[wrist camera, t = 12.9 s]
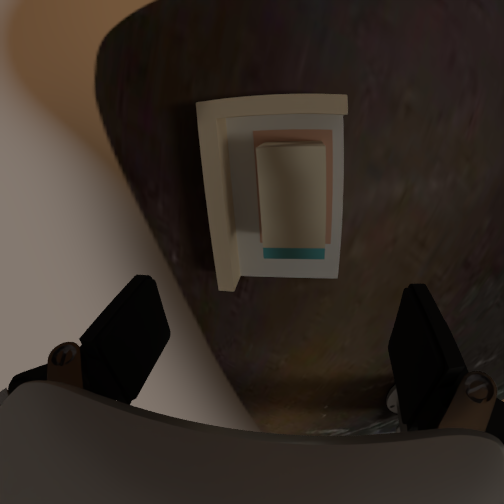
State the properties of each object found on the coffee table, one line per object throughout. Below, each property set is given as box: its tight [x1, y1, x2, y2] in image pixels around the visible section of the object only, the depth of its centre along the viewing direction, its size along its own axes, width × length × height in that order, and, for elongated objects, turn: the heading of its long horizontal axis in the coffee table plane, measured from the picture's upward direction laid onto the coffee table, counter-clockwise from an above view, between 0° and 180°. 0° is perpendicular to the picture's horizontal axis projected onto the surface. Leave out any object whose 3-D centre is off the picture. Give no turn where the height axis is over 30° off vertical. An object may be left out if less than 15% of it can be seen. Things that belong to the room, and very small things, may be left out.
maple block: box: [256, 141, 326, 259], centre depth 23 cm, size 5×9×5 cm, turn 4°
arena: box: [196, 94, 348, 291], centre depth 25 cm, size 18×12×4 cm, turn 4°
